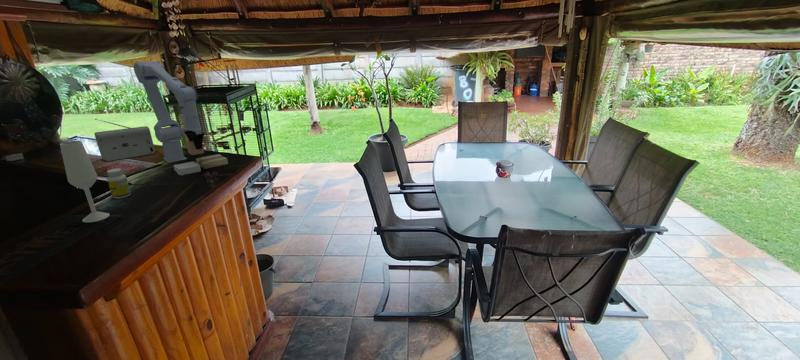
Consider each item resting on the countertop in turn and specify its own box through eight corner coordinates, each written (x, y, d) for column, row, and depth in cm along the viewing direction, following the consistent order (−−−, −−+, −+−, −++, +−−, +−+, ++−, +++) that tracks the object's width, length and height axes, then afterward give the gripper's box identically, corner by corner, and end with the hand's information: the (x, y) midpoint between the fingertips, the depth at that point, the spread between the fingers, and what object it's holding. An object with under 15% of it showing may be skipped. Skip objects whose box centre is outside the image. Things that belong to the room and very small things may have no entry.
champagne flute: (87, 224, 106) (60, 147, 97) (78, 219, 109) (51, 143, 101) (113, 215, 111) (89, 141, 103) (104, 211, 115) (80, 138, 106)
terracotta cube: (188, 152, 155) (185, 141, 153) (200, 150, 158) (198, 139, 156) (191, 155, 151) (189, 143, 150) (204, 152, 155) (201, 141, 153)
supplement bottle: (109, 197, 125) (101, 171, 122) (126, 192, 130) (118, 166, 126) (117, 200, 123) (109, 173, 119) (134, 194, 127) (127, 169, 124)
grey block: (174, 171, 151) (173, 165, 150) (195, 167, 157) (193, 161, 156) (180, 176, 146) (178, 169, 145) (201, 172, 151) (199, 165, 150)
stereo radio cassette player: (154, 150, 180) (144, 111, 173) (157, 154, 175) (147, 113, 168) (102, 159, 167) (88, 117, 160) (103, 163, 162) (90, 119, 154)
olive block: (197, 164, 161) (195, 158, 160) (219, 160, 167) (218, 154, 166) (204, 169, 154) (203, 163, 153) (228, 164, 161) (227, 158, 160)
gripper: (175, 115, 152) (182, 146, 157) (185, 120, 142) (192, 152, 147) (193, 113, 157) (199, 143, 161) (204, 118, 147) (210, 149, 152)
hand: (197, 147), depth 154 cm, fingers closed on terracotta cube, 5 cm apart
